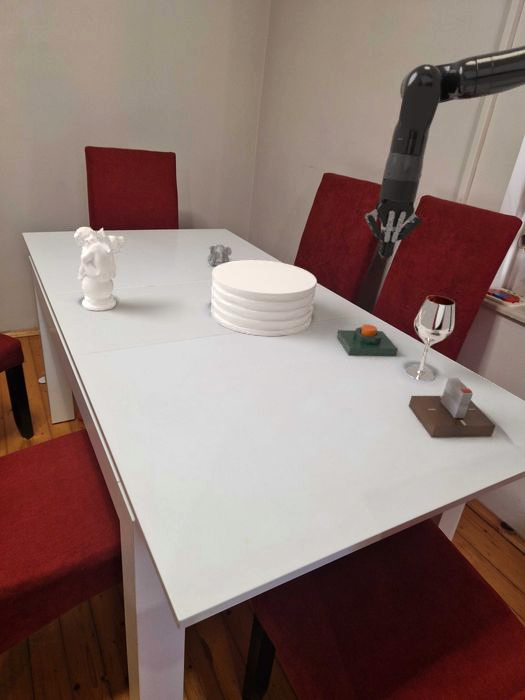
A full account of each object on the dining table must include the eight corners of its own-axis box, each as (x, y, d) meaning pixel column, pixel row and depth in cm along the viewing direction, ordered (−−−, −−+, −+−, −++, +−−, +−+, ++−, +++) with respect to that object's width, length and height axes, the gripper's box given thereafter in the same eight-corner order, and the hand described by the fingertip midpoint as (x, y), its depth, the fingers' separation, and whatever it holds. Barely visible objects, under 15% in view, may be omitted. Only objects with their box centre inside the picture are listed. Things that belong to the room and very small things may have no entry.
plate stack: (331, 326, 123) (338, 286, 118) (242, 343, 109) (245, 299, 104) (275, 292, 144) (278, 256, 138) (194, 303, 129) (194, 264, 124)
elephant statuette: (225, 260, 170) (226, 240, 167) (239, 270, 161) (240, 248, 158) (202, 262, 166) (202, 241, 162) (215, 272, 157) (216, 250, 153)
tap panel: (463, 405, 92) (467, 394, 91) (491, 436, 84) (496, 424, 83) (408, 406, 91) (411, 394, 89) (431, 437, 82) (435, 425, 81)
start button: (372, 330, 114) (373, 324, 113) (377, 337, 110) (379, 330, 110) (358, 330, 113) (360, 324, 112) (363, 336, 110) (365, 330, 109)
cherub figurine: (75, 301, 123) (66, 219, 113) (118, 293, 131) (113, 216, 121) (93, 316, 115) (86, 230, 105) (138, 307, 123) (135, 226, 113)
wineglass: (420, 386, 98) (442, 309, 90) (393, 369, 104) (412, 295, 96) (445, 379, 102) (469, 305, 94) (418, 363, 108) (438, 291, 100)
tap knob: (440, 401, 88) (448, 376, 86) (449, 401, 89) (458, 376, 86) (454, 418, 83) (463, 392, 81) (464, 418, 84) (473, 392, 81)
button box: (380, 338, 119) (383, 324, 117) (395, 356, 110) (399, 342, 108) (336, 337, 117) (339, 323, 115) (348, 356, 108) (351, 341, 106)
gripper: (423, 177, 99) (404, 254, 107) (365, 172, 97) (351, 251, 105) (439, 181, 93) (418, 263, 101) (378, 176, 91) (362, 261, 99)
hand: (384, 257), depth 103 cm, fingers closed
